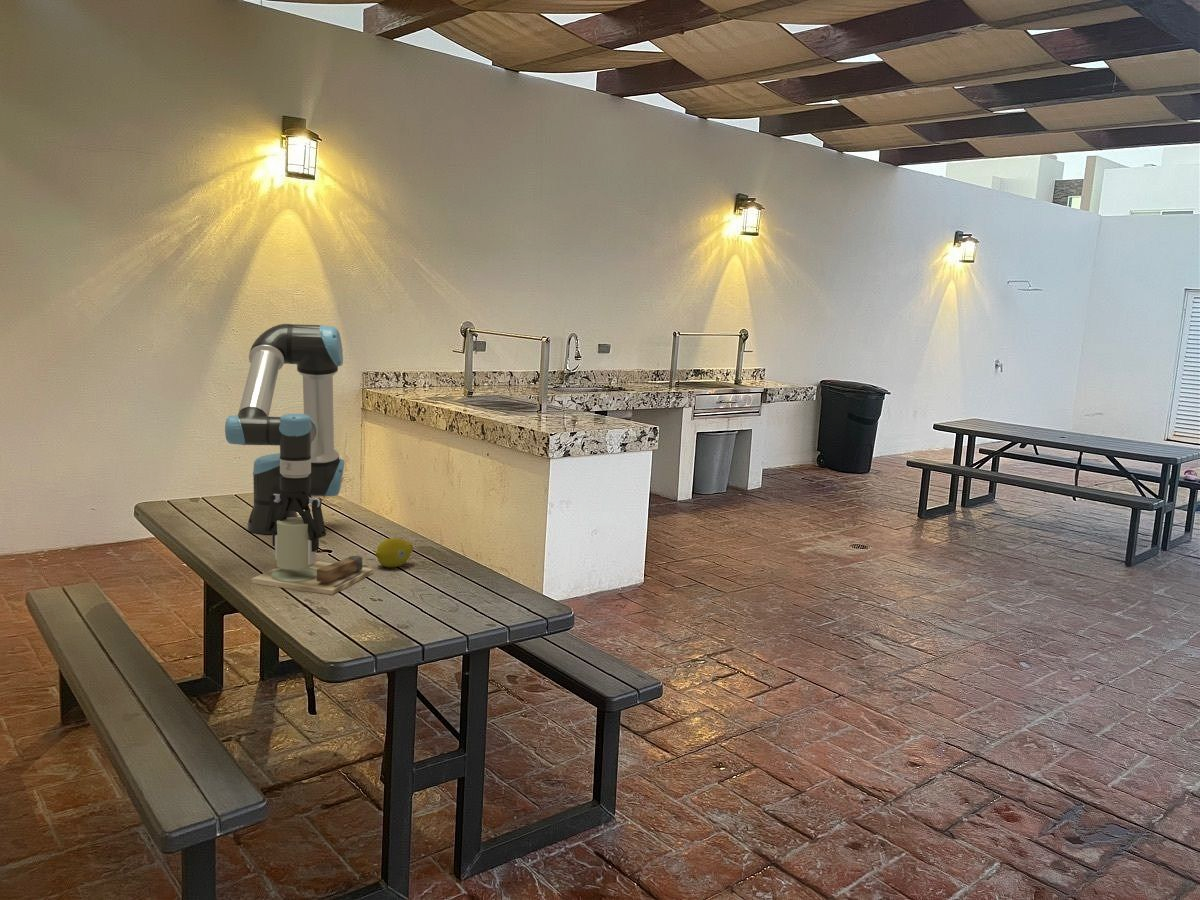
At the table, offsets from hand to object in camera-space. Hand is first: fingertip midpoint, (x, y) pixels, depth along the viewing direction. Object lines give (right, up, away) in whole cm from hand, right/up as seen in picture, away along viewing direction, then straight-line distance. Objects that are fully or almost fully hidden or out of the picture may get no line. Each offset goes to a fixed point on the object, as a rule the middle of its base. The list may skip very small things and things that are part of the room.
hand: (295, 560), depth 236 cm
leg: (+12, -3, +1) cm, 12 cm away
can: (0, -1, 0) cm, 1 cm away
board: (+4, -5, +3) cm, 7 cm away
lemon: (+22, -4, +17) cm, 28 cm away
